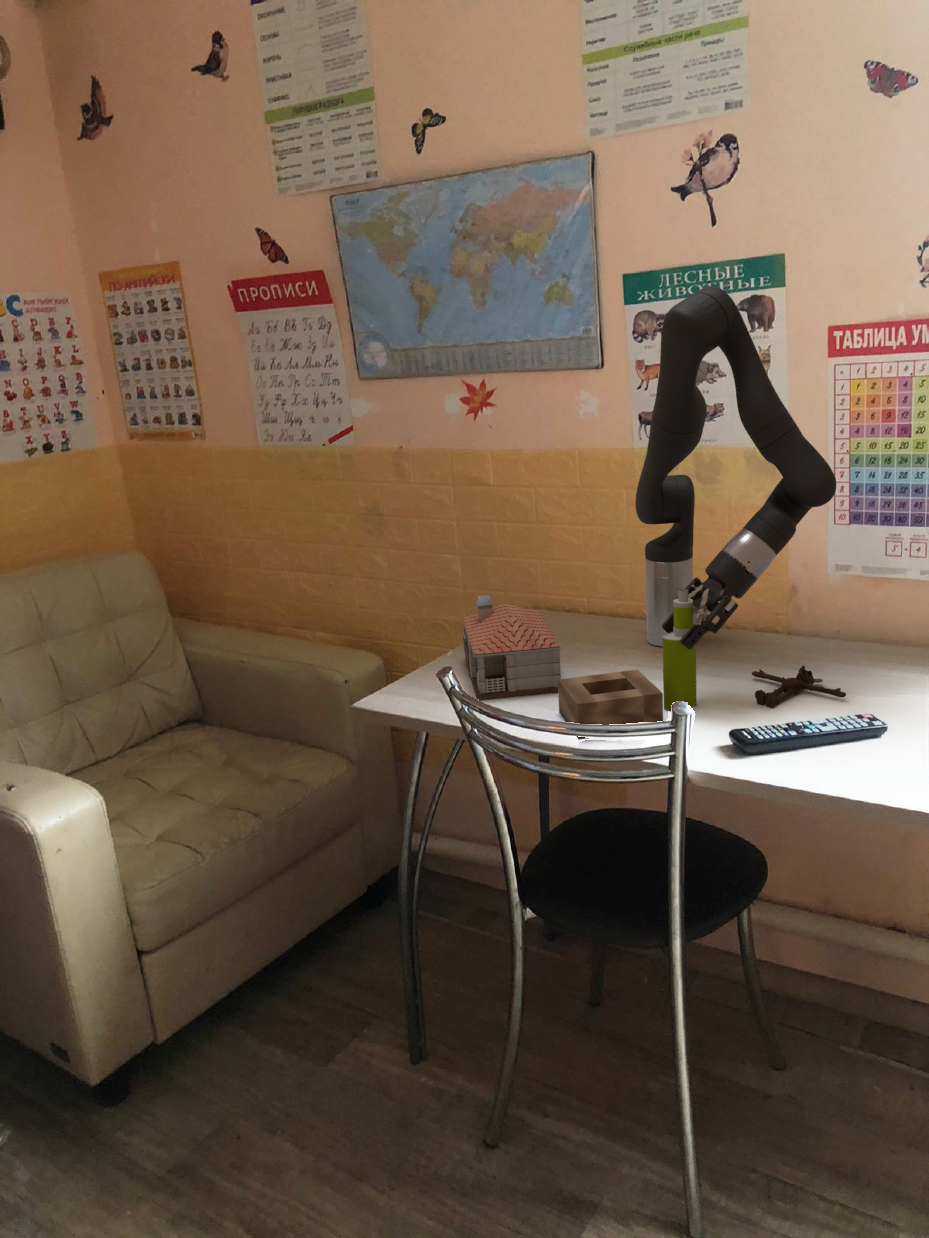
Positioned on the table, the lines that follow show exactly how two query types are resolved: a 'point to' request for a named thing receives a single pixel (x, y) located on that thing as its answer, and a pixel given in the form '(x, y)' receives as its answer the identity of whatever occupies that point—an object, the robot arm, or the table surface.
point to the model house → (510, 652)
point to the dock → (610, 699)
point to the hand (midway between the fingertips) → (674, 638)
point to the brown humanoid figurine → (790, 687)
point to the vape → (679, 656)
